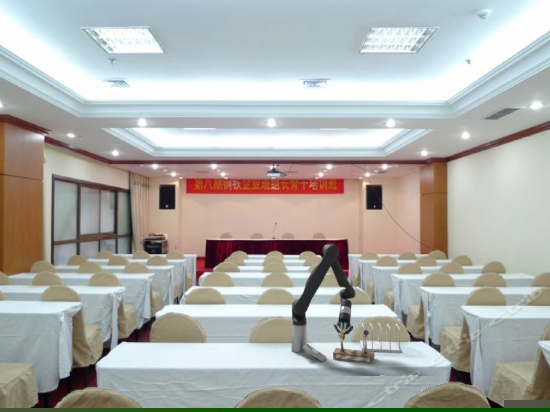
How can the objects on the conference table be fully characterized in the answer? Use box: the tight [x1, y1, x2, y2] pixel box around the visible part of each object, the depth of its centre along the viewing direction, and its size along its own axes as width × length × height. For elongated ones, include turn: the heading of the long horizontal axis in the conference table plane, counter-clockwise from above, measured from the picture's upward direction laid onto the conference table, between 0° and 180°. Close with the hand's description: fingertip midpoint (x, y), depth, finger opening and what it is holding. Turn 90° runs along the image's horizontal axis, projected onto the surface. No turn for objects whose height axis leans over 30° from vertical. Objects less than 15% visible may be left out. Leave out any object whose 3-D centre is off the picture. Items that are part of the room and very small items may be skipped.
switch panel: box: [332, 347, 375, 365], centre depth 253 cm, size 24×10×5 cm, turn 71°
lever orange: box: [337, 333, 345, 351], centre depth 253 cm, size 3×3×14 cm
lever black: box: [364, 329, 369, 353], centre depth 254 cm, size 3×3×14 cm
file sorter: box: [359, 322, 402, 354], centre depth 276 cm, size 25×17×16 cm
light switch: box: [303, 343, 327, 363], centre depth 253 cm, size 8×6×14 cm
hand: (342, 339), depth 253 cm, fingers closed
